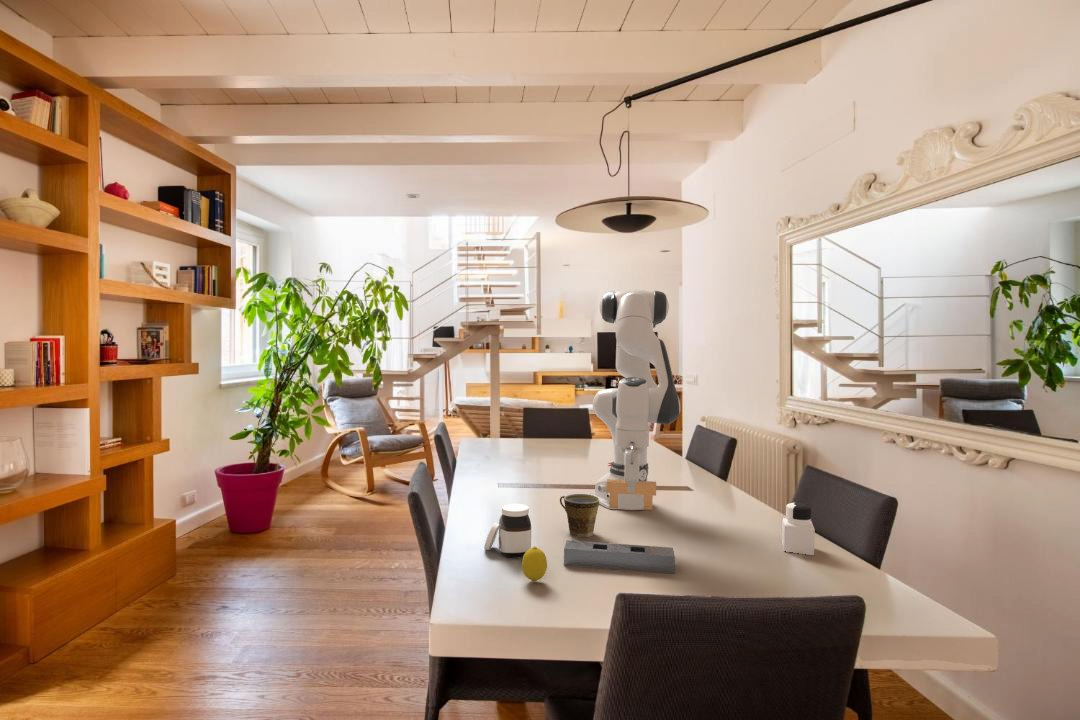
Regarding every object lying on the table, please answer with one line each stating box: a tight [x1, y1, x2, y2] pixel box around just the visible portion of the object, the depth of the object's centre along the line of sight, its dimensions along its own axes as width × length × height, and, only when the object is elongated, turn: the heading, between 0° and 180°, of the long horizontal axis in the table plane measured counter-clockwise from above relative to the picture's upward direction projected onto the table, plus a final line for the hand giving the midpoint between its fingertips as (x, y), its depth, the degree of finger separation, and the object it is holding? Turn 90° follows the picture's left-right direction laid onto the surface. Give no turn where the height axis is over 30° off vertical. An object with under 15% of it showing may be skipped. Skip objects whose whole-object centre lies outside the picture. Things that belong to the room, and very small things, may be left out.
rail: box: [563, 540, 676, 574], centre depth 137 cm, size 26×6×4 cm, turn 81°
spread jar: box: [483, 503, 532, 559], centre depth 144 cm, size 12×11×12 cm
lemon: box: [521, 546, 548, 583], centre depth 125 cm, size 6×6×8 cm
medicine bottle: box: [781, 502, 816, 556], centre depth 149 cm, size 7×7×12 cm
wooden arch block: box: [606, 479, 657, 511], centre depth 151 cm, size 13×3×7 cm, turn 81°
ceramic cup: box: [559, 493, 600, 538], centre depth 160 cm, size 13×10×10 cm
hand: (631, 490), depth 151 cm, fingers closed on wooden arch block, 3 cm apart
